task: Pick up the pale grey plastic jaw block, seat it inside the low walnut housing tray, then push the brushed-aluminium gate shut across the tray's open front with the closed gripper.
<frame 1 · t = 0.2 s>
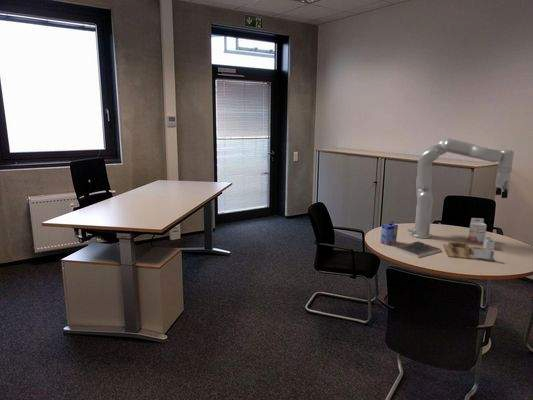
hand: (501, 196, 249), 31 cm above the table, fingers open, 9 cm apart
jaw: (488, 247, 245), on the table
gate: (483, 254, 222), point 3 cm above the table, slide at 10.0 cm, touching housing
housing: (466, 251, 237), on the table
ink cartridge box: (388, 243, 253), on the table
picture frame: (417, 251, 239), on the table
ink cartridge box 2: (476, 240, 259), on the table
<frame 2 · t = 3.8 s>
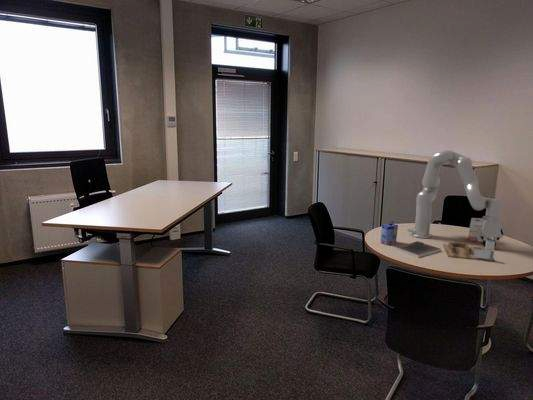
hand: (488, 246, 245), 1 cm above the table, fingers closed on jaw, 4 cm apart
jaw: (488, 247, 245), on the table, touching gripper
everything else where it was.
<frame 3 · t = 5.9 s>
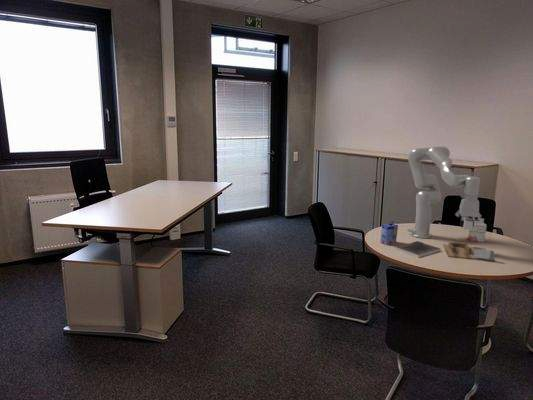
hand: (466, 226, 236), 15 cm above the table, fingers closed on jaw, 4 cm apart
jaw: (466, 227, 236), point 14 cm above the table, touching gripper
everything else where it was.
when the fingers open (3 cm above the table, at t = 8.5 s): jaw drops 2 cm, resting on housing.
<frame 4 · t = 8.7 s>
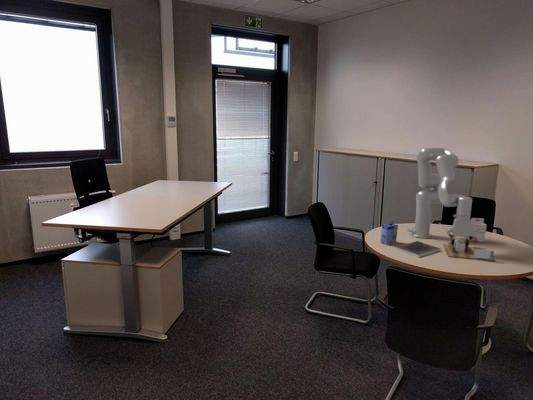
hand: (459, 245, 237), 4 cm above the table, fingers open, 6 cm apart
jaw: (458, 249, 238), point 1 cm above the table, touching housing
everything else where it was.
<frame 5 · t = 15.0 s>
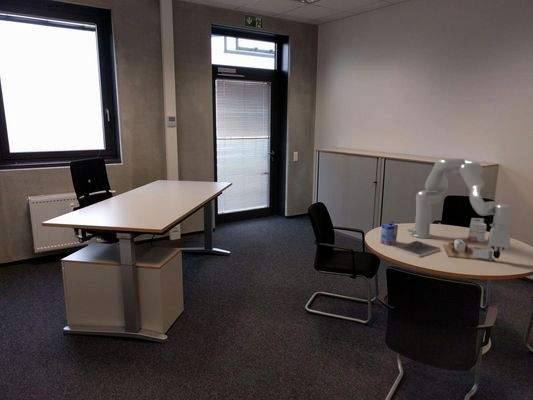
hand: (496, 257, 221), 2 cm above the table, fingers closed
gate: (482, 254, 223), point 3 cm above the table, slide at 9.4 cm, touching gripper, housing
everything else where it was.
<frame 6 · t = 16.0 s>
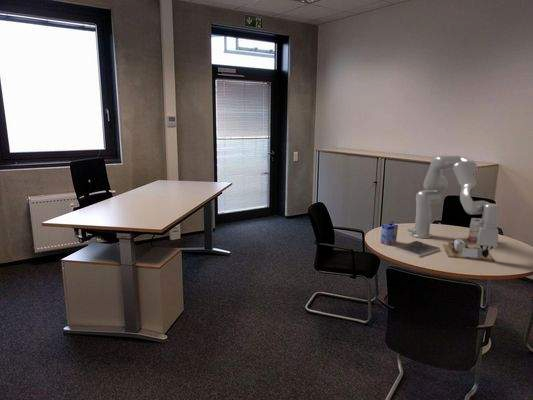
hand: (484, 256, 223), 2 cm above the table, fingers closed
gate: (471, 253, 224), point 3 cm above the table, slide at 3.6 cm, touching gripper, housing
everything else where it was.
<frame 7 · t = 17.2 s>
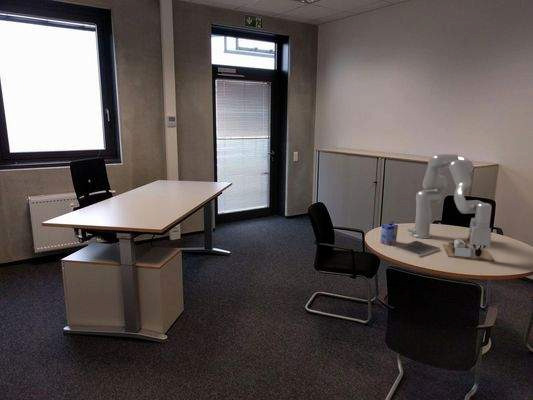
hand: (477, 255, 224), 2 cm above the table, fingers closed
gate: (464, 252, 225), point 3 cm above the table, slide at 0.0 cm, touching gripper, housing
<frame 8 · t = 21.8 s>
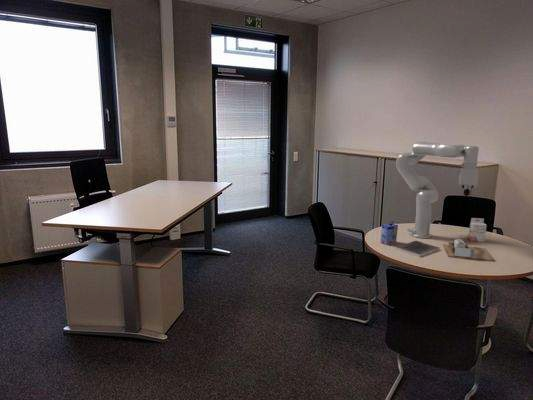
hand: (466, 195, 242), 32 cm above the table, fingers closed
gate: (464, 252, 225), point 3 cm above the table, slide at 0.0 cm, touching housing
at the end: jaw inside the target area on the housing (0.3 cm from its centre), point 0.8 cm above the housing's base; jaw tilted 0°; gate slide at 0.0 cm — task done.
